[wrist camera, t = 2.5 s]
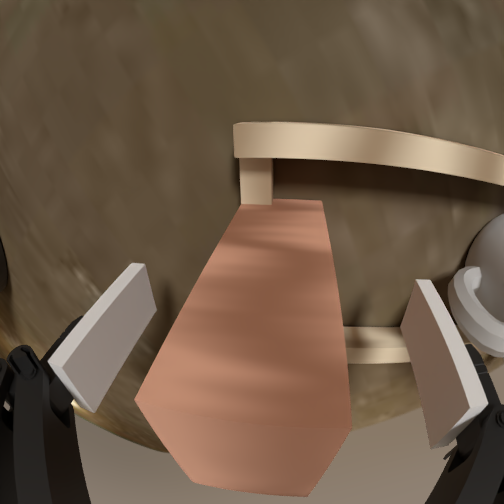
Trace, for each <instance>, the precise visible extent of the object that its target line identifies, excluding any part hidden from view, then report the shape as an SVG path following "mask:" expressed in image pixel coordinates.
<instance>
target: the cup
mask: <svg viewBox="0 0 504 504" xmlns="http://www.w3.org/2000/svg"><path fill="white" fill-rule="evenodd" d="M448 299H449V304H450V308H451V311H452V315H453V317H454V319H455V320H456V322H457V324H458V326H459V328H460V329H461V331H462V332H463V333H464V334H465V336H466V337H467V338H468V340H469V341H470V342H472V343H473V344H474V345H475V346H476V347H477V348H479V349H480V350H481V351H483V352H485V353H488V354H490V355H492V356H494V357H503V358H504V214H502V215H499V216H498V217H496V218H494V219H492V220H491V221H490V222H489V223H488V224H487V225H486V226H484V227H483V228H482V230H481V231H480V233H479V234H478V235H477V237H476V238H475V240H474V242H473V244H472V246H471V248H470V249H469V252H468V255H467V259H466V262H465V268H462V269H460V270H458V272H457V273H456V274H455V276H454V277H453V278H452V280H451V281H450V283H449V284H448Z"/></svg>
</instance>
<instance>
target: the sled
mask: <svg viewBox="0 0 504 504" xmlns="http://www.w3.org/2000/svg"><path fill="white" fill-rule="evenodd" d="M233 133H234V156H235V158H239V164H240V188H241V205H240V207H239V209H238V210H237V212H236V214H235V216H234V217H233V219H232V221H231V222H230V224H229V226H228V228H227V229H226V231H225V233H224V234H223V236H222V238H221V240H220V241H219V243H218V245H217V247H216V248H215V250H214V252H213V254H212V255H211V257H210V259H209V261H208V262H207V264H206V266H205V268H204V270H203V271H202V273H201V275H200V277H199V278H198V280H197V282H196V284H195V286H194V287H193V289H192V291H191V293H190V295H189V297H188V298H187V300H186V302H185V304H184V306H183V308H182V309H181V311H180V313H179V315H178V317H177V319H176V320H175V322H174V324H173V326H172V328H171V330H170V332H169V334H168V335H167V337H166V339H165V341H164V343H163V345H162V347H161V349H160V351H159V353H158V354H157V356H156V358H155V360H154V362H153V364H152V366H151V368H150V370H149V372H148V374H147V376H146V378H145V380H144V382H143V384H142V386H141V388H140V390H139V391H138V393H137V395H136V397H135V399H134V400H135V402H136V403H137V405H138V406H139V408H140V410H141V411H142V413H143V414H144V416H145V418H146V419H147V421H148V422H149V424H150V425H151V427H152V428H153V430H154V431H155V433H156V434H157V436H158V437H159V439H160V440H161V441H162V443H163V444H164V446H165V447H166V448H167V450H168V451H169V452H170V454H171V455H172V456H173V458H174V459H175V460H176V462H177V463H178V464H179V466H180V467H181V468H182V469H183V471H184V472H185V473H186V474H187V476H188V477H189V478H190V479H191V480H192V482H194V483H198V484H203V485H207V486H212V487H217V488H223V489H228V490H235V491H241V492H249V493H257V494H267V495H279V496H298V497H307V496H308V495H309V494H310V493H311V491H312V490H313V488H314V487H315V486H316V484H317V483H318V481H319V480H320V479H321V477H322V475H323V474H324V473H325V471H326V470H327V468H328V466H329V465H330V463H331V462H332V460H333V459H334V457H335V456H336V454H337V452H338V451H339V449H340V448H341V445H342V444H343V443H344V441H345V439H346V437H347V436H348V434H349V432H350V430H351V429H352V419H351V402H350V388H349V376H348V365H347V364H366V363H400V362H411V361H410V358H409V354H408V351H407V347H406V344H405V341H404V338H403V334H402V331H401V328H400V327H343V321H342V314H341V307H340V300H339V293H338V286H337V280H336V274H335V268H334V262H333V256H332V251H331V245H330V240H329V235H328V230H327V225H326V220H325V215H324V210H323V205H322V201H318V200H296V199H273V158H297V159H319V160H336V161H349V162H361V163H371V164H381V165H390V166H398V167H406V168H413V169H420V170H427V171H433V172H439V173H445V174H451V175H456V176H461V177H467V178H471V179H476V180H481V181H486V182H490V183H494V184H499V185H503V186H504V155H501V154H497V153H494V152H491V151H487V150H484V149H480V148H476V147H473V146H469V145H465V144H461V143H457V142H452V141H448V140H443V139H438V138H434V137H428V136H423V135H418V134H412V133H406V132H400V131H393V130H386V129H378V128H370V127H361V126H350V125H339V124H324V123H304V122H241V123H237V124H233ZM455 326H456V328H457V330H458V332H459V334H460V336H461V338H462V341H463V343H464V344H472V345H473V346H474V347H475V348H476V350H477V351H478V352H479V353H480V355H483V354H488V353H485V352H483V351H481V350H480V349H479V348H477V347H476V346H475V345H474V344H473V343H472V342H470V341H469V340H468V338H467V337H466V336H465V334H464V333H463V332H462V331H461V329H460V328H459V326H458V325H455Z"/></svg>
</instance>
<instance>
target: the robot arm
mask: <svg viewBox="0 0 504 504" xmlns="http://www.w3.org/2000/svg"><path fill="white" fill-rule="evenodd" d="M6 284H7V267H6V261H5V257H4V252H3V249H2V245H1V242H0V292H1V291H2V290H4V288H5V287H6ZM156 311H157V309H156V305H155V302H154V298H153V294H152V290H151V286H150V282H149V278H148V274H147V270H146V266H145V264H138V263H131V264H130V265H129V266H128V267H127V269H126V270H125V271H124V272H123V273H122V274H121V275H120V276H119V277H118V278H117V279H116V280H115V282H114V283H113V284H112V285H111V286H110V287H109V288H108V289H107V290H106V291H105V293H104V294H103V295H102V296H101V297H100V298H99V299H98V300H97V302H96V303H95V304H94V305H93V306H92V307H91V309H90V310H89V311H88V312H87V313H86V314H85V316H80V317H78V318H77V319H76V320H74V321H73V322H71V324H70V325H69V326H68V327H67V328H66V330H65V332H63V333H62V334H61V336H60V338H58V339H57V340H56V342H55V343H54V344H53V345H52V347H51V348H50V349H49V350H48V352H47V353H46V354H45V355H44V357H43V358H42V359H41V360H40V361H39V359H38V358H37V356H36V354H35V353H34V351H33V350H32V348H31V347H30V346H28V345H21V346H18V347H16V348H15V349H14V350H12V351H11V352H10V354H9V355H8V357H7V360H6V361H7V362H8V363H9V365H10V366H11V367H10V366H9V365H8V363H7V362H6V361H5V360H4V359H2V358H0V504H91V501H90V497H89V494H88V490H87V486H86V481H85V477H84V473H83V468H82V463H81V458H80V452H79V446H78V440H77V433H76V425H75V417H74V409H73V406H72V405H71V402H72V401H73V399H75V401H76V402H77V403H78V405H79V406H80V407H82V408H84V409H86V410H88V411H91V412H93V413H95V412H96V410H97V408H98V406H99V405H100V403H101V401H102V399H103V398H104V396H105V394H106V392H107V391H108V389H109V387H110V385H111V384H112V382H113V380H114V379H115V377H116V375H117V374H118V372H119V370H120V369H121V367H122V365H123V364H124V362H125V360H126V359H127V357H128V355H129V354H130V352H131V350H132V349H133V347H134V346H135V344H136V342H137V341H138V339H139V337H140V336H141V334H142V333H143V331H144V329H145V328H146V326H147V325H148V323H149V322H150V320H151V318H152V317H153V315H154V314H155V312H156ZM400 328H401V331H402V334H403V338H404V341H405V344H406V347H407V351H408V354H409V358H410V361H411V365H412V368H413V372H414V376H415V379H416V383H417V387H418V391H419V395H420V400H421V404H422V408H423V413H424V417H425V422H426V428H427V433H428V438H429V444H430V449H434V448H439V447H444V446H447V445H449V443H451V442H452V441H453V440H454V439H455V438H456V440H457V445H456V446H455V447H454V448H453V449H452V450H451V451H450V452H449V453H447V454H446V455H445V457H444V458H443V459H444V460H446V459H447V458H448V457H449V456H450V455H451V456H450V458H449V460H448V462H447V464H446V466H445V468H444V470H443V472H442V474H441V476H440V478H439V480H438V482H437V483H436V485H435V487H434V489H433V491H432V492H431V494H430V496H429V498H428V499H427V501H426V502H425V504H504V405H501V403H500V400H499V398H498V395H497V393H496V390H495V387H494V385H493V382H492V380H491V378H490V375H489V373H487V372H488V371H487V368H486V366H485V365H484V362H483V359H482V357H481V355H480V353H479V352H478V351H477V350H476V348H475V347H474V346H473V345H472V344H464V343H463V341H462V338H461V336H460V334H459V332H458V330H457V328H456V326H455V324H454V322H453V320H452V318H451V316H450V314H449V313H448V311H447V309H446V307H445V305H444V303H443V301H442V300H441V298H440V296H439V294H438V292H437V291H436V289H435V287H434V285H433V284H432V282H431V280H418V279H416V280H415V284H414V287H413V290H412V294H411V297H410V300H409V303H408V306H407V309H406V312H405V315H404V317H403V320H402V323H401V326H400ZM5 401H6V402H7V403H8V404H9V406H10V410H9V411H7V410H6V409H5V408H4V402H5Z"/></svg>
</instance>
